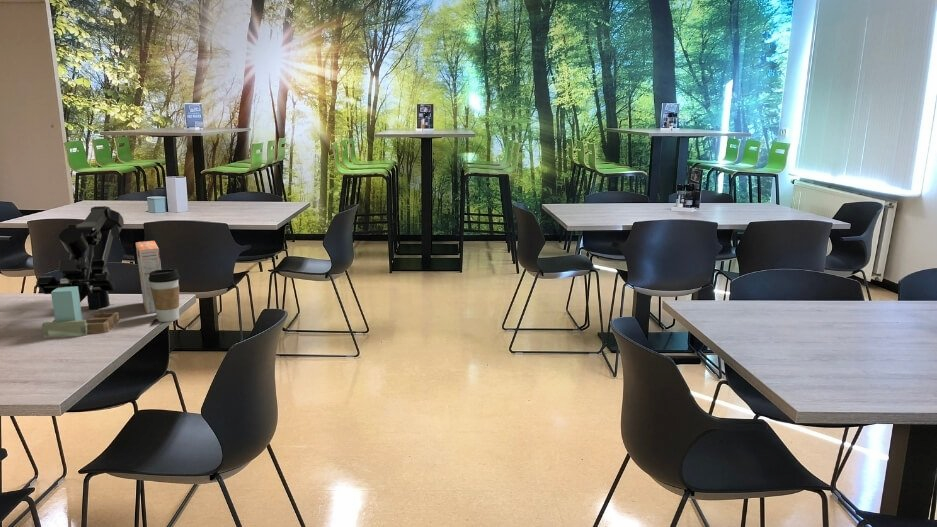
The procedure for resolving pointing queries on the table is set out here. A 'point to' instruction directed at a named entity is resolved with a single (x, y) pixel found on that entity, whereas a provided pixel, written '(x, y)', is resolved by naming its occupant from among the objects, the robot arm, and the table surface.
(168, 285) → the coffee cup
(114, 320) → the trap channel
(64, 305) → the block
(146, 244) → the cracker box
